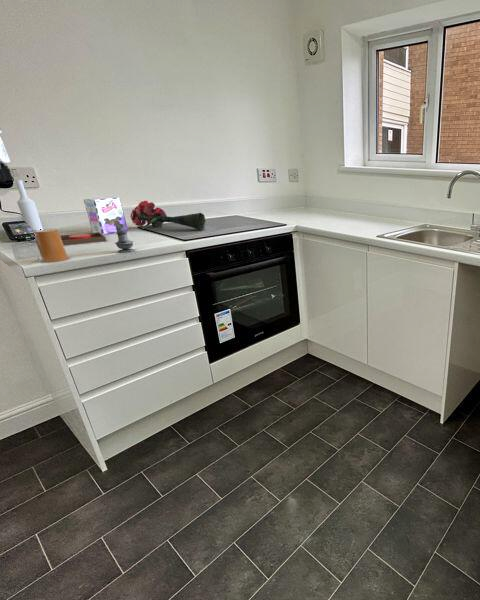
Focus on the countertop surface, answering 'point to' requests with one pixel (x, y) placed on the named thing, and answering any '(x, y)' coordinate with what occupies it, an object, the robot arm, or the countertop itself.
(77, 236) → the lid
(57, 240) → the jar
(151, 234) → the countertop surface
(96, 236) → the tray
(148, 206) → the carnation
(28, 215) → the bottle
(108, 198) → the candy box
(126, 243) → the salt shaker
